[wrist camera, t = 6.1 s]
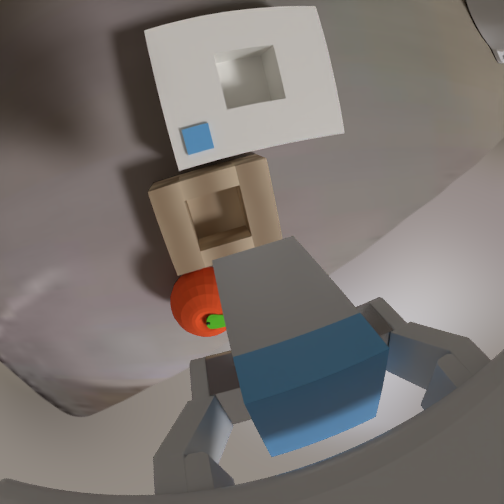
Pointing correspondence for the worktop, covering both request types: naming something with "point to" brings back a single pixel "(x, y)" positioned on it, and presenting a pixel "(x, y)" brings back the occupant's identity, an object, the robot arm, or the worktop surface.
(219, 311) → the clementine
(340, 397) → the plug
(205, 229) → the holster
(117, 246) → the worktop surface
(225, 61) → the port
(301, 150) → the worktop surface
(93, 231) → the worktop surface
